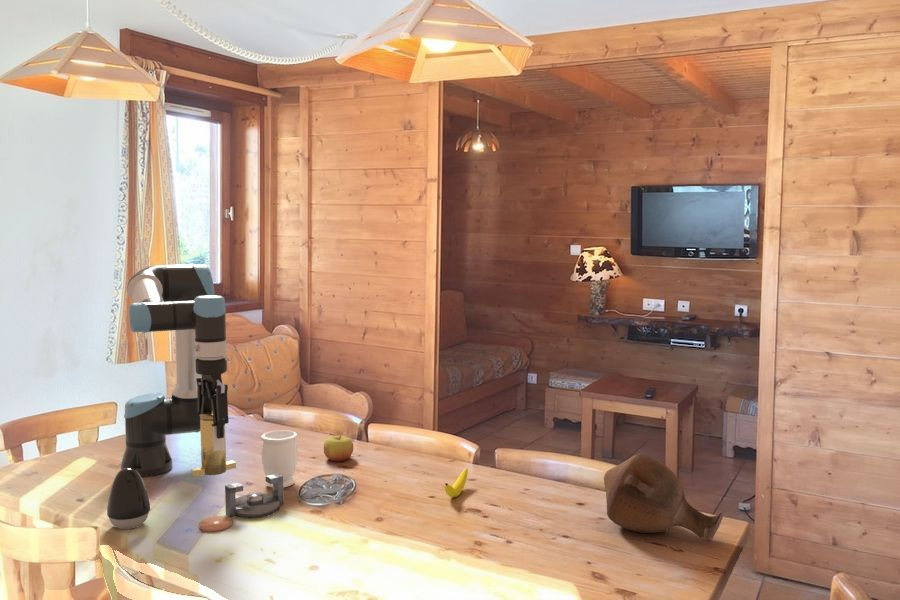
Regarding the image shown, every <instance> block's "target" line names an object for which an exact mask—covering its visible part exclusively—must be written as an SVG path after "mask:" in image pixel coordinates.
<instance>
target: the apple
mask: <svg viewBox="0 0 900 600" xmlns="http://www.w3.org/2000/svg"><path fill="white" fill-rule="evenodd" d="M323 453H324V455H325V458H326V459H328V460H330V461H332V462H345V461H347V460H348V459H350V457H351V456H352V455H353V453H354V443H353V441H352V440H351V438H350V437H347V436H345V435H333V436H330V437H328V438H326V440H325V441H324V443H323Z"/></svg>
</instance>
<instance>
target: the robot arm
mask: <svg viewBox="0 0 900 600" xmlns="http://www.w3.org/2000/svg"><path fill="white" fill-rule="evenodd" d="M126 292H127V296H128V298H129V299H130V301H131V302H132V303H130V304H129V305H128V324H129V330H130V331H131V332H132V333H143V334H144V333H150V332H151V333H152V332H169V331H170V332H171V331H172V332H173V331H175V359H176V360H175V364H176V365H175V368H176V373H175V374H176V387H174V388H173V390H172V391H171V396H170V397H166V396H165V395H164V394H165V393H162V392H156V393H155V392H151V393H144V394H140V395H138V396H135V397H132V398H130V399H129V400H127V401H126V403H125V405H124V415H123V418H124V419H125V420H124V425H125V427H124V428H125V429H124V431H125V449H124V452H123V455H122V459H121V462H120V470H122V469H124V468H133V469H135V470H136V471H137V472H138V473H139V474H140V476H141V477H142V478H143V477H153V476H156V475H157V476H158V475H162V474H164V473H167V472H169V471H170V470H172V468H173V458H172V455H171V453H170V450H169V448H168V446H167V441H166V436H168V435H169V436H170V435H179V434H181V435H182V434H189V433H199V432H200V433H201V429H200V414H201V413H204V412H208V411H212V412H213V418H214V424H211V425H212V427H213V451H220V450H225V439H224V425H225V426H226V424H227V425H228V424H229V423H230V422H229V406H228V403H229V402H228V401H229V400H228V390H229V389H228V388H229V387H228V384H223V379H222V375H223V374H225V373H226V372H227V371H228V365H227V363H228V362H227V361H228V360H227V357H226V356H227V354H228V353H227V348H228V347H227V346H228V345H227V335H226V331H227V329H226V328H227V327H226V326H227V325H226V324H227V323H226V322H227V321H226V312H227V308H226V299H225V297H224V296H222V295H216V294H215V285H214V281H213V277H212V273H211V269H210V267H209V266H208V265H206V264H201V263H200V264H197V263H196V264H195V263H184V264H183V263H181V264H180V263H179V264H177V263H176V264H155V265H150V266H147V267H145V268H143V269H140V270H138V271H137V272H136V273H134V274H133V275H132V276H131V277H130V279H129V280H128V283H127V286H126Z"/></svg>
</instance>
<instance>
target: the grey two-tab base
mask: <svg viewBox="0 0 900 600" xmlns="http://www.w3.org/2000/svg"><path fill="white" fill-rule="evenodd" d="M266 482H268V483H269V484H273V488H272V493H273V494H269V493H264V492H261V491H255V492H250V493H247V494H245V495H242V496H238V497H237V496H236V493H240V492H243V491H244V485H243V484H242V483H240V482H234V483H230V484H225V485H224V493H225V495H224V497H225V498H224V500H225V516H227V515H228V516H227V517H229V518H231V519H232V518H235V516H236V518H241V519H260V518H265V517H268V515H269V516H271V515H273V513H274V514H275V513H277V512H278V511H279V510H280V508H281V507H280V506H281V505H284V488H283V476H282V475H280V474H278V473H277V474H273V475H268V476H265V483H266Z"/></svg>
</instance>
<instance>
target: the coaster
mask: <svg viewBox="0 0 900 600" xmlns="http://www.w3.org/2000/svg"><path fill="white" fill-rule="evenodd" d="M232 525H233V522H232V518H230V517H229V516H227V515H225V516H224V515H214V516H208V517H206V518H204V519H201V520H200V521H199V523H198V528H199V529H200V530H201V531H202V532H207V533H213V532H214V533H215V532H222V531H225V530H227V529H229V528H231V526H232Z"/></svg>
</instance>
